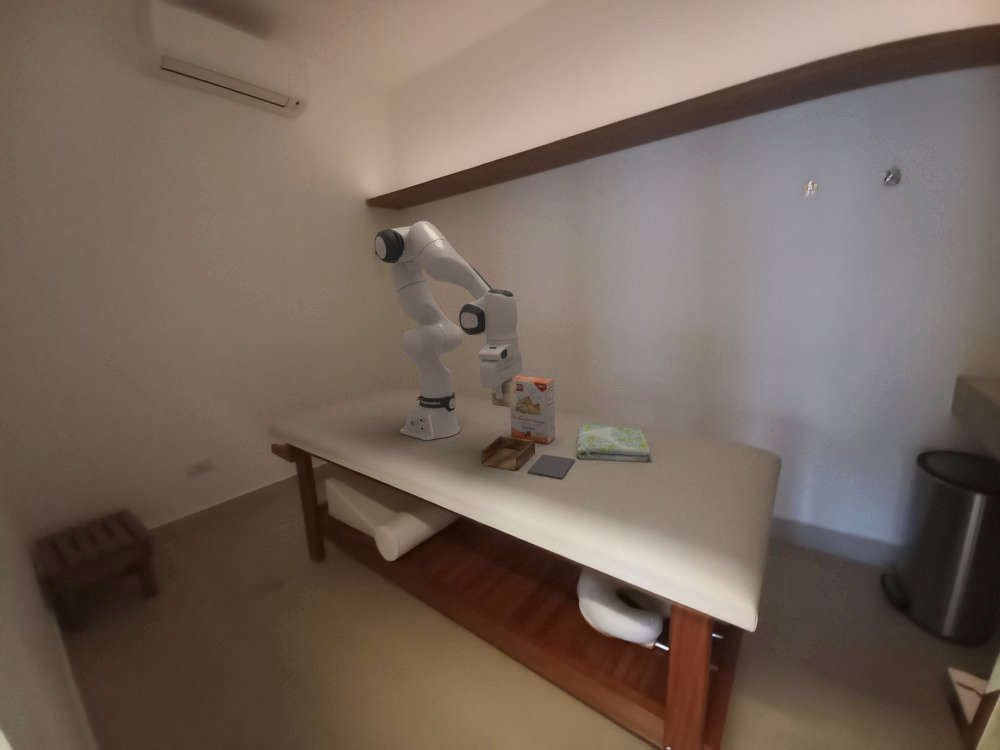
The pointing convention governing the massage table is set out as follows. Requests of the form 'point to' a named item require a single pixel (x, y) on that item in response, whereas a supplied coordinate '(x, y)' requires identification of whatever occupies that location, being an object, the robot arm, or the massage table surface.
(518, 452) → the shelf bay
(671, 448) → the massage table surface
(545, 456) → the mat
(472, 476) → the massage table surface
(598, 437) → the towel
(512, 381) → the block
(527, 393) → the cracker box
